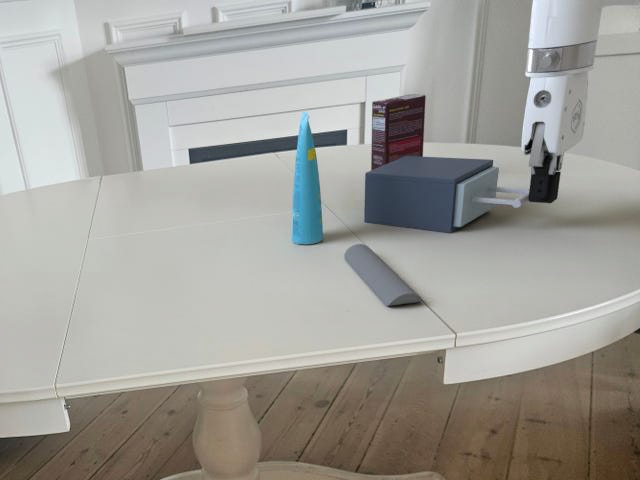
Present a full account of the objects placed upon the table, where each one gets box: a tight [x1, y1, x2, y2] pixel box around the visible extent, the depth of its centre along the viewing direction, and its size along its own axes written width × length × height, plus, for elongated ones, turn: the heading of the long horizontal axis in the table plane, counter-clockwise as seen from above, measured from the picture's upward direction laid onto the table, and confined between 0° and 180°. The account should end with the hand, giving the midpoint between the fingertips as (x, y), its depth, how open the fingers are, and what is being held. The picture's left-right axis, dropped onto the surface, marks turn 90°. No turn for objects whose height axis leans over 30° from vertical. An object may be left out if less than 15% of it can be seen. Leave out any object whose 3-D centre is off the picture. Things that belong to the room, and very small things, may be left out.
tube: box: [291, 109, 324, 245], centre depth 96 cm, size 7×5×19 cm, turn 179°
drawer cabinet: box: [363, 156, 494, 234], centre depth 101 cm, size 15×13×8 cm
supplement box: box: [370, 93, 427, 171], centre depth 119 cm, size 9×5×16 cm, turn 108°
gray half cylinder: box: [344, 243, 423, 307], centre depth 82 cm, size 4×20×2 cm, turn 1°
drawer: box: [453, 166, 530, 228], centre depth 98 cm, size 21×11×6 cm, turn 42°
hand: (542, 200), depth 89 cm, fingers closed
